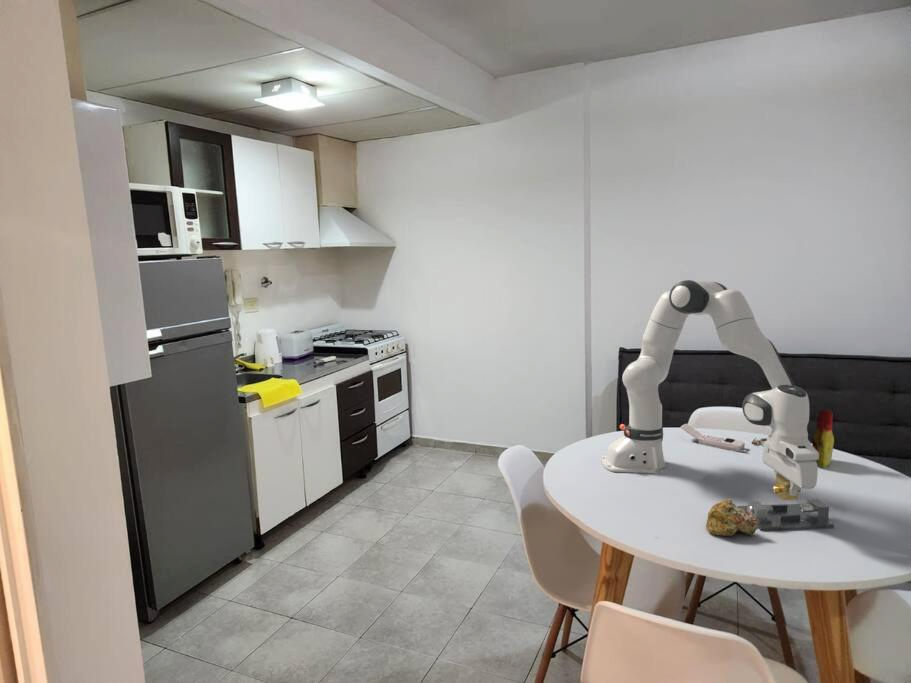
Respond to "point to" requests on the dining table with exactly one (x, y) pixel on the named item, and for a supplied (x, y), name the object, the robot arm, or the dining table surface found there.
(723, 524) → the rock
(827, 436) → the red yellow oblong piece
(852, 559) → the dining table surface
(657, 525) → the dining table surface
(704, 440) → the mobile phone
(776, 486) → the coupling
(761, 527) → the dark grey baseplate
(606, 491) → the dining table surface
